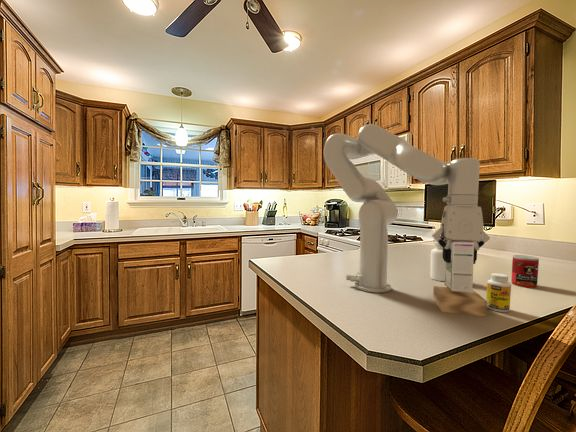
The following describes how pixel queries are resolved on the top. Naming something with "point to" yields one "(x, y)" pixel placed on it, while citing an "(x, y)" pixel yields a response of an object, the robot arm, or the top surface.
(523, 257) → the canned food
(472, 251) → the syrup box
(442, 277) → the pill bottle
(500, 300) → the supplement bottle
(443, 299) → the oak block
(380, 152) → the robot arm
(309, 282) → the top surface
